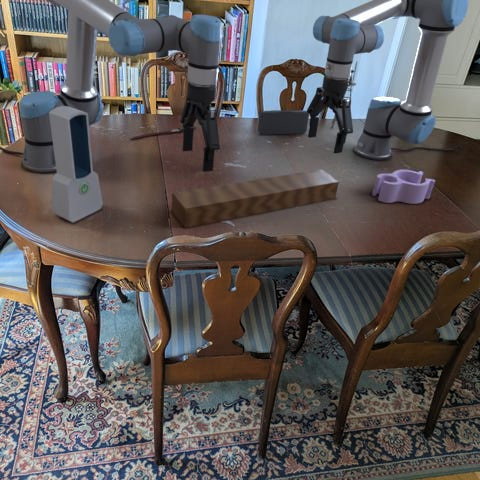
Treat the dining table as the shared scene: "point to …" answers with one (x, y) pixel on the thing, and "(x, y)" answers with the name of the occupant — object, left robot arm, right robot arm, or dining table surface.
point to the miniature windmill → (347, 90)
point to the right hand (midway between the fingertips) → (324, 144)
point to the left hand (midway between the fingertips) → (197, 160)
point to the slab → (252, 197)
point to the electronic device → (73, 165)
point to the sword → (161, 132)
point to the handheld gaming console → (283, 122)
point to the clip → (402, 187)
